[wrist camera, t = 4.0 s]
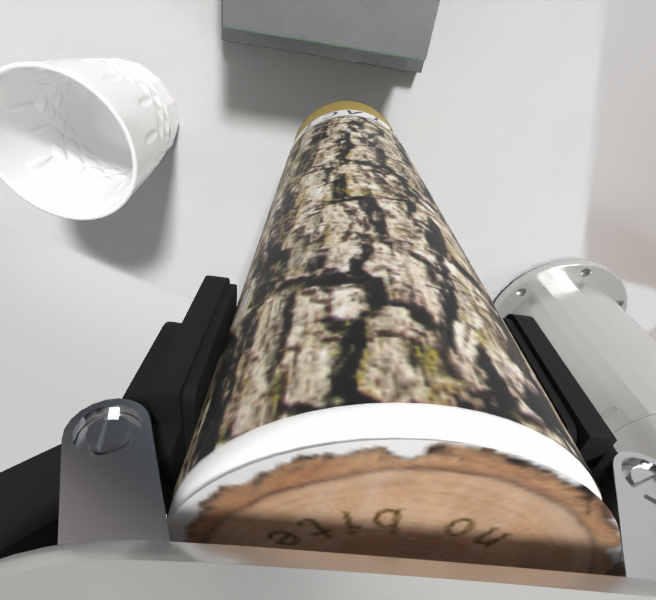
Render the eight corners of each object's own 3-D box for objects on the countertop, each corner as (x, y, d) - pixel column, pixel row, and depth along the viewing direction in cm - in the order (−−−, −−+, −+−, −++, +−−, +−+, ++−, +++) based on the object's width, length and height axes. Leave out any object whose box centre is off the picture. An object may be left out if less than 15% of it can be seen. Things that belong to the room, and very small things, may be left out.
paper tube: (380, 213, 29) (497, 672, 8) (286, 194, 29) (160, 643, 8) (410, 111, 26) (744, 482, 5) (302, 87, 25) (145, 395, 4)
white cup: (81, 23, 27) (-27, 27, 18) (200, 84, 29) (152, 112, 20) (66, 138, 31) (-29, 183, 22) (171, 184, 33) (121, 241, 24)
